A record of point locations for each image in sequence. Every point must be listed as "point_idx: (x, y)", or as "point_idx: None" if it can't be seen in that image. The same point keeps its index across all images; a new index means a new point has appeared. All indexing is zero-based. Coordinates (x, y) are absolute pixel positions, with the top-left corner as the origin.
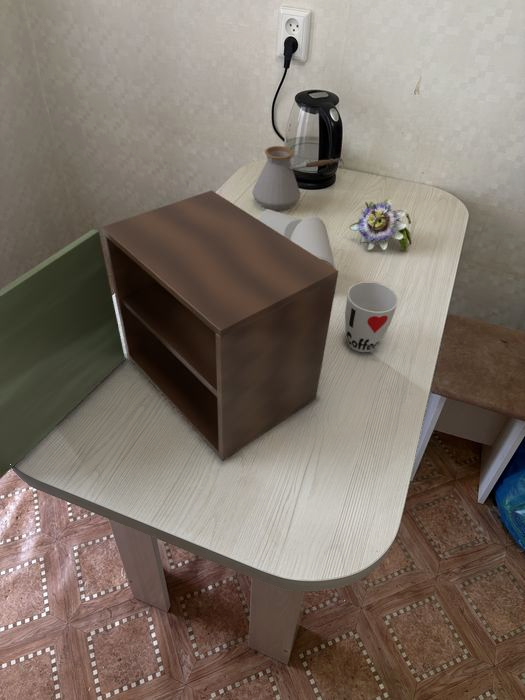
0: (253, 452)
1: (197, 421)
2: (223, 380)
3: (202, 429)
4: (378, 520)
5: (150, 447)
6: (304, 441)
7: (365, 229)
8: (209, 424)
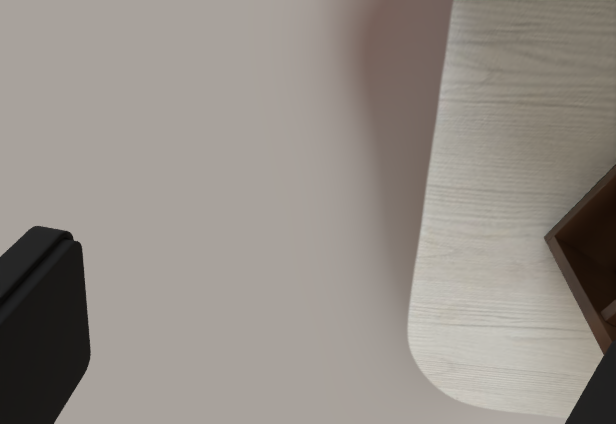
0: None
1: (612, 189)
2: None
3: (596, 201)
4: (494, 398)
5: (550, 132)
6: None
7: None
8: (608, 207)
